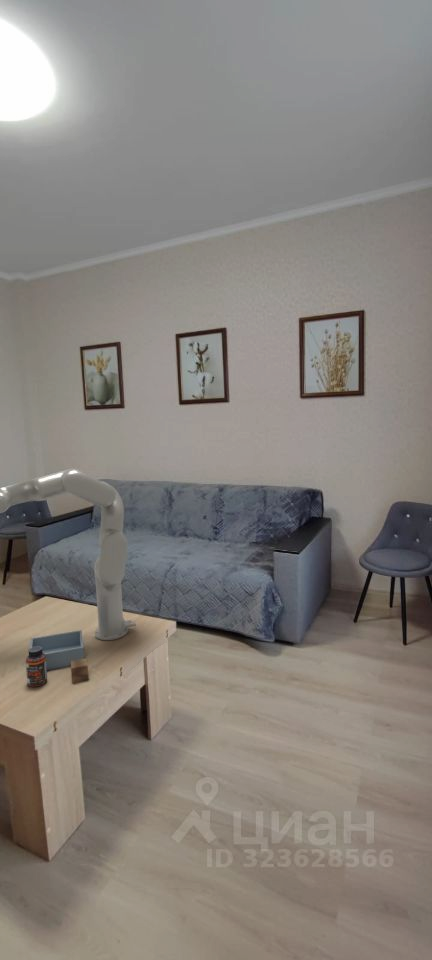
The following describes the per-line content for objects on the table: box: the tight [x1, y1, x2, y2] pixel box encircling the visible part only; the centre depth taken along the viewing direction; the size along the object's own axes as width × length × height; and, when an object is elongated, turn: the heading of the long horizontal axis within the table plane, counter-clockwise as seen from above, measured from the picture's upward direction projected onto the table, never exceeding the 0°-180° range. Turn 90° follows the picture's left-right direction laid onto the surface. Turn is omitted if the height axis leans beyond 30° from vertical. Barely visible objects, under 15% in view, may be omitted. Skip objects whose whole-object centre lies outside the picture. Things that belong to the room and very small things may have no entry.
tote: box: [27, 629, 85, 671], centre depth 160 cm, size 18×15×6 cm
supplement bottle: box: [25, 646, 48, 688], centre depth 145 cm, size 6×6×11 cm
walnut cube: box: [70, 657, 89, 684], centre depth 148 cm, size 5×5×5 cm
